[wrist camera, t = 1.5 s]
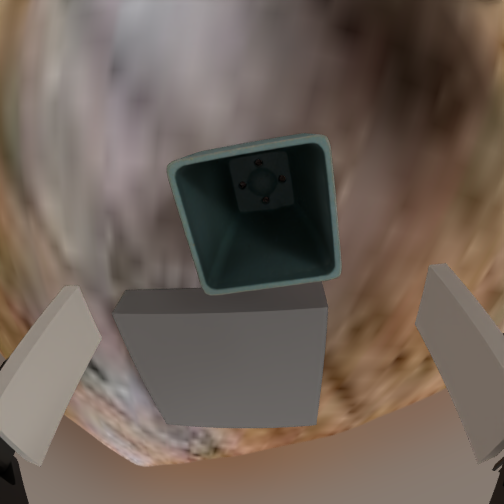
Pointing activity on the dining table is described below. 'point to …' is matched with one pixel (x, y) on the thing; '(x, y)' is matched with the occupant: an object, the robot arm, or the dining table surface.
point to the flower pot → (260, 213)
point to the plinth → (229, 353)
